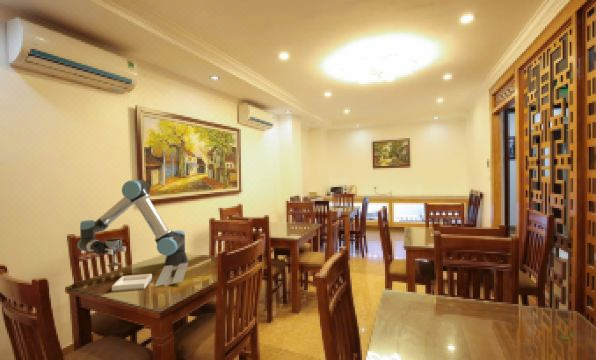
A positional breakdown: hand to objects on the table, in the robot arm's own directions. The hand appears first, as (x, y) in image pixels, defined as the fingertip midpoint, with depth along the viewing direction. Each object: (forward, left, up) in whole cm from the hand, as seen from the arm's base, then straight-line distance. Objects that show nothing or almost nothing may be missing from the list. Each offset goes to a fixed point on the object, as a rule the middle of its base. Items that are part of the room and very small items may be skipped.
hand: (118, 250), depth 175 cm
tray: (-10, +9, -18) cm, 23 cm away
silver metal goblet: (+4, -3, -9) cm, 10 cm away
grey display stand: (-31, +10, -18) cm, 38 cm away
